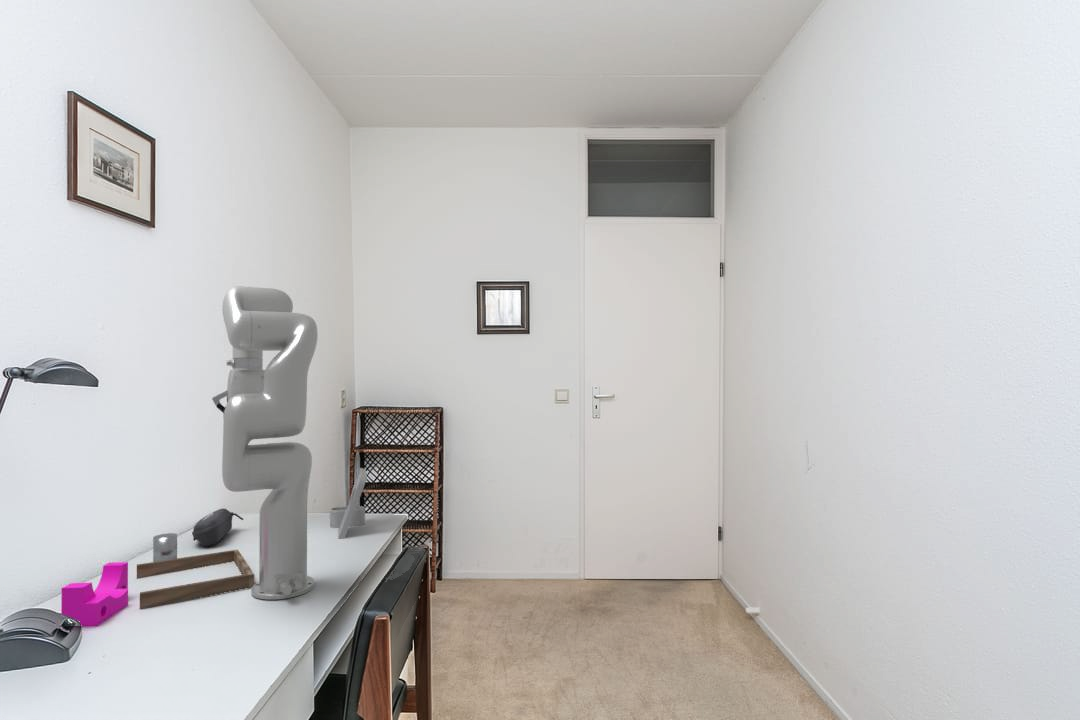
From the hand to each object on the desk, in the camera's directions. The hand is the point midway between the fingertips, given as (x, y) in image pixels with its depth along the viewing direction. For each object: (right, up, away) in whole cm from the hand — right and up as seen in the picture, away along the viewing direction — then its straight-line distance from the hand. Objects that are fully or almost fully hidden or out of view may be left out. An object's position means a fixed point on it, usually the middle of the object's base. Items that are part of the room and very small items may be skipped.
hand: (247, 427), depth 173 cm
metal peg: (-10, -31, -20) cm, 39 cm away
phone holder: (+26, -32, +6) cm, 41 cm away
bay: (+3, -31, -33) cm, 45 cm away
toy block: (-6, -32, -49) cm, 58 cm away
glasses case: (-8, -32, 0) cm, 33 cm away
